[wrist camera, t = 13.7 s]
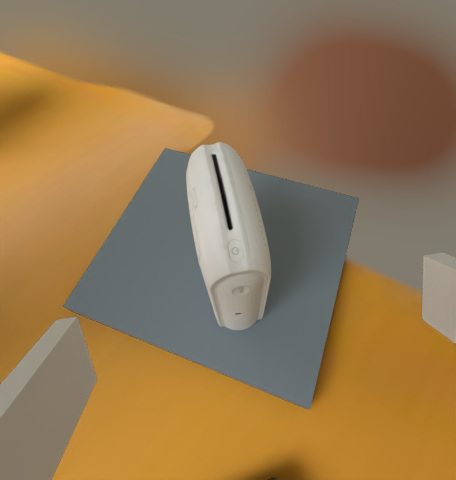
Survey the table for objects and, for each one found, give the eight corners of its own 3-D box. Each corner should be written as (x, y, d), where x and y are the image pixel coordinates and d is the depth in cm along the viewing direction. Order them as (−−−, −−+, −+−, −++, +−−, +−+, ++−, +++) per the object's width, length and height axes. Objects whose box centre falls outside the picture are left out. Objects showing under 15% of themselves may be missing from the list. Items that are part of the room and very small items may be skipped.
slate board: (71, 311, 29) (62, 306, 27) (167, 157, 37) (165, 148, 36) (306, 409, 24) (310, 408, 23) (354, 206, 33) (358, 198, 31)
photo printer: (268, 326, 26) (285, 264, 15) (217, 337, 25) (196, 281, 15) (242, 223, 31) (241, 119, 20) (199, 231, 30) (174, 130, 20)
